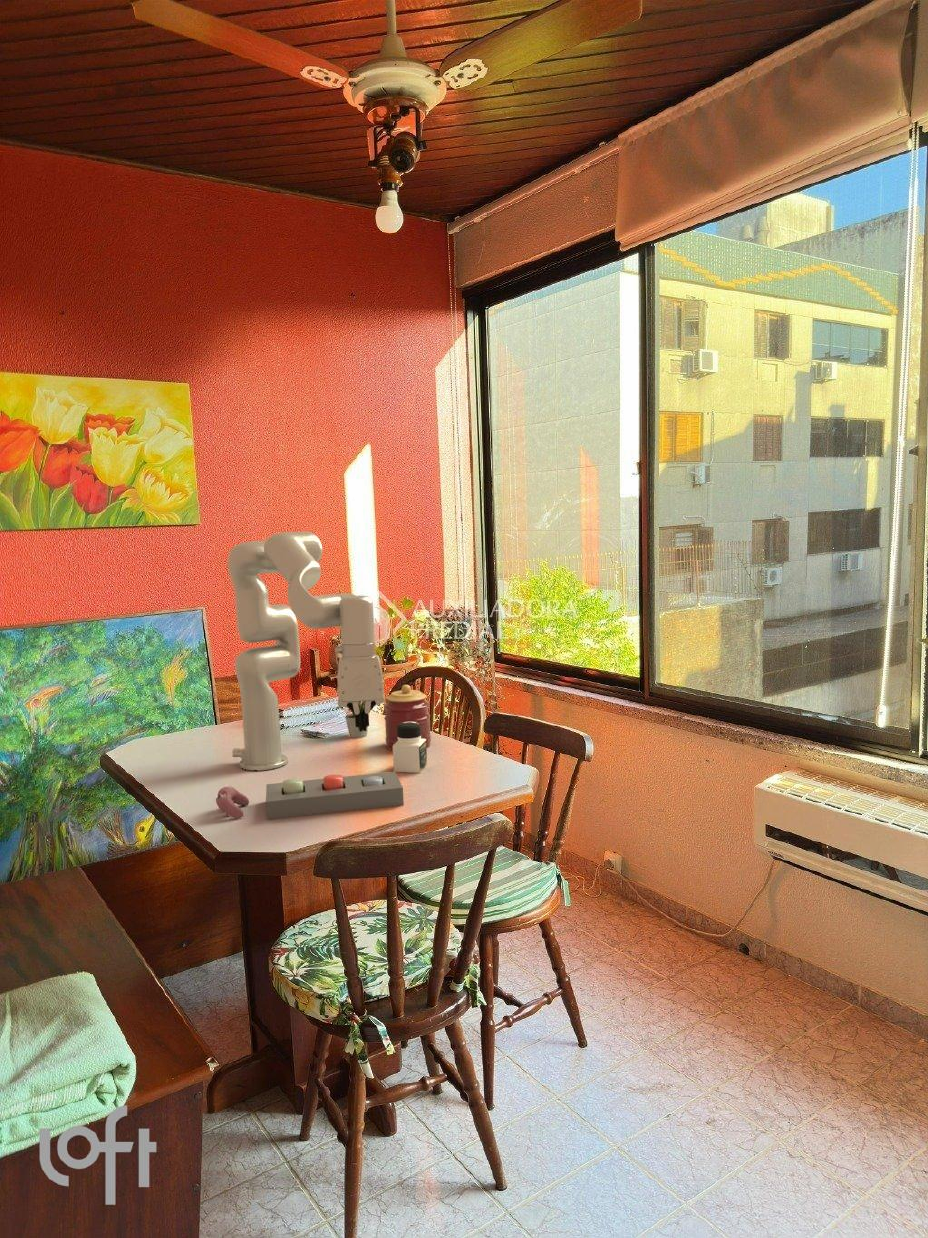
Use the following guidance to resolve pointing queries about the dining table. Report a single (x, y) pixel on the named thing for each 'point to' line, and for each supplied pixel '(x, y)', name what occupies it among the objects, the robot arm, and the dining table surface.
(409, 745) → the medicine bottle
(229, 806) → the video game controller
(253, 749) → the robot arm
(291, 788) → the green button
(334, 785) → the red button
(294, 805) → the button panel
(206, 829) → the dining table surface
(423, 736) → the canister
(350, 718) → the house plant
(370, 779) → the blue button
